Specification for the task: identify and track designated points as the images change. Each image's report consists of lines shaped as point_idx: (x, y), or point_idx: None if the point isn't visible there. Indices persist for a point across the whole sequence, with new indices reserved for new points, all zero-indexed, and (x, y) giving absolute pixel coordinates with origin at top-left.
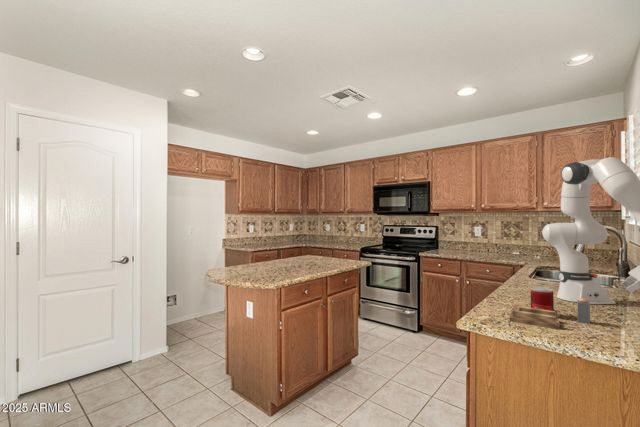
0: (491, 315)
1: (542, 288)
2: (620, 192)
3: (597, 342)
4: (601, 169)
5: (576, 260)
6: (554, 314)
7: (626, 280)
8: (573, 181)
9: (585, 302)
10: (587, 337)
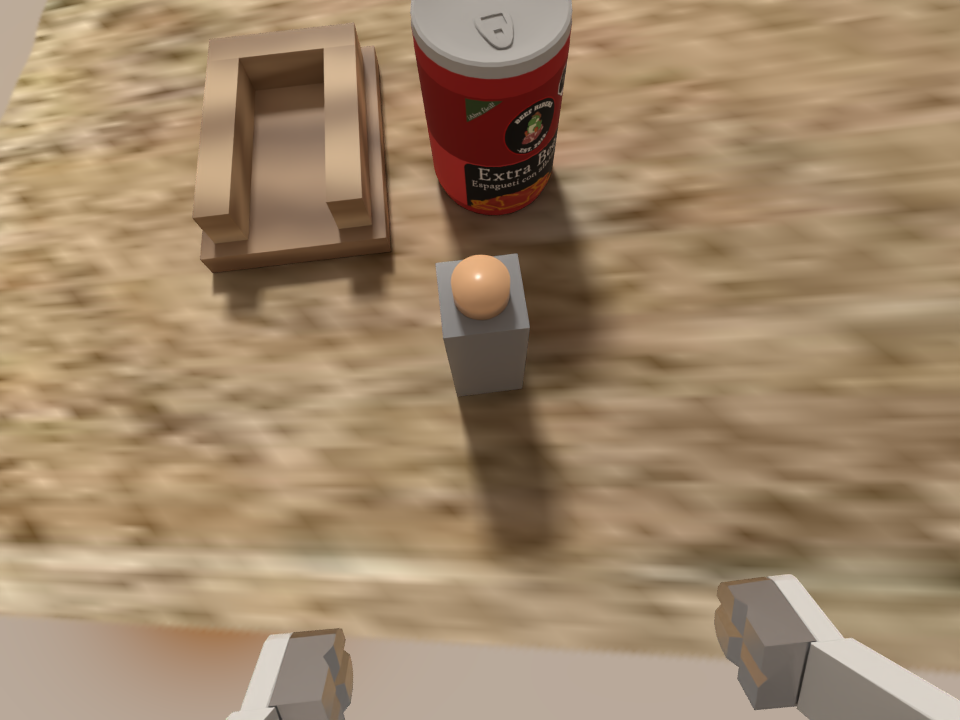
0: (278, 11)
1: (547, 8)
2: None
3: (70, 442)
4: None
5: None
6: (329, 206)
7: (845, 674)
8: None
9: (458, 308)
10: (140, 396)
